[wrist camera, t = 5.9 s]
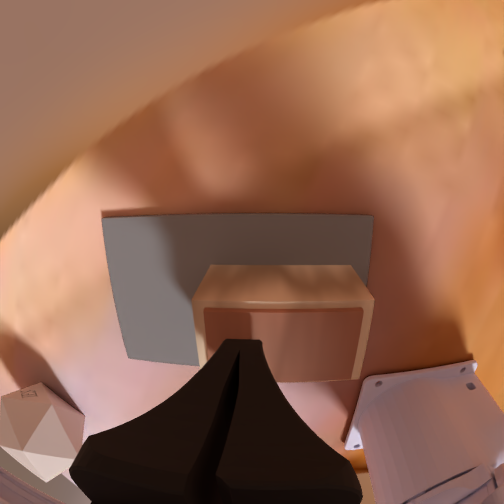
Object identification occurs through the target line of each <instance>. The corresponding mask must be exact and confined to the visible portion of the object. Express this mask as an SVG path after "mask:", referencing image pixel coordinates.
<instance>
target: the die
mask: <svg viewBox="0 0 504 504" xmlns="http://www.w3.org/2000/svg"><path fill="white" fill-rule="evenodd" d="M84 421H85V416H84V415H83V414H81V413H80V412H79V411H77V410H76V409H74V408H73V407H72V406H70V405H69V404H68V403H66V402H65V401H64V400H63V399H61V398H60V397H59V396H58V395H56V394H55V393H54V392H53V391H51V390H50V389H49V388H48V387H46V386H45V385H44V384H43V383H42V382H40V383H37V384H35V385H32V386H29V387H26V388H24V389H21V390H18V391H15V392H12V393H10V394H7V395H4V396H1V405H0V446H1V447H2V448H3V449H4V450H5V451H6V452H8V453H9V454H10V455H11V456H12V457H13V458H15V459H16V460H17V461H18V462H20V463H21V464H22V465H23V466H25V467H26V468H27V469H29V470H30V471H31V472H32V473H34V474H35V475H36V476H38V477H39V478H41V479H42V480H44V481H45V482H48V481H49V480H51V479H53V478H54V477H56V476H57V475H59V474H60V473H62V472H63V471H65V470H66V469H68V468H70V467H71V465H72V463H73V461H74V459H75V458H76V456H77V454H78V452H79V450H80V449H81V447H82V440H83V430H84Z"/></svg>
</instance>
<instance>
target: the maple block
mask: <svg viewBox="0 0 504 504" xmlns="http://www.w3.org/2000/svg"><path fill="white" fill-rule="evenodd" d="M191 301H192V310H193V319H194V327H195V335H196V343H197V350H198V358H199V365H200V369H201V368H202V367H203V366H204V365H205V364H206V362H207V361H208V360H209V359H210V358H211V357H212V355H213V354H214V353H215V352H216V350H217V349H218V348H219V346H220V345H221V344H222V342H223V341H224V340H225V339H260V340H261V341H262V342H263V351H264V355H265V358H266V361H267V363H268V366H269V368H270V370H271V373H272V375H273V377H274V379H275V381H276V382H321V381H340V380H354V379H359V377H360V373H361V369H362V364H363V360H364V356H365V351H366V346H367V341H368V336H369V331H370V326H371V320H372V314H373V309H374V302H375V299H374V298H373V296H372V295H371V293H370V292H369V290H368V289H367V288H366V286H365V285H364V283H363V282H362V280H361V279H360V277H359V276H358V275H357V273H356V272H355V270H354V269H353V267H352V266H351V265H210V267H209V269H208V271H207V273H206V274H205V276H204V278H203V280H202V282H201V283H200V285H199V287H198V289H197V291H196V292H195V294H194V296H193V298H192V300H191Z"/></svg>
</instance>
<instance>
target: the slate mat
mask: <svg viewBox="0 0 504 504" xmlns="http://www.w3.org/2000/svg"><path fill="white" fill-rule="evenodd" d="M373 221H374V217H373V216H372V215H350V214H300V213H223V214H173V215H143V216H119V217H104V218H102V227H103V235H104V242H105V250H106V256H107V263H108V269H109V275H110V280H111V286H112V291H113V296H114V301H115V306H116V310H117V315H118V319H119V324H120V328H121V332H122V336H123V340H124V344H125V348H126V352H127V355H128V358H130V359H137V360H144V361H152V362H161V363H170V364H180V365H191V366H200V365H199V358H198V350H197V343H196V335H195V327H194V319H193V310H192V301H191V300H192V298H193V296H194V294H195V292H196V291H197V289H198V287H199V285H200V283H201V282H202V280H203V278H204V276H205V274H206V273H207V271H208V269H209V267H210V265H351V266H352V267H353V269H354V270H355V272H356V273H357V275H358V276H359V277H360V279H361V280H362V282H363V283H364V285H365V286H366V288H367V281H368V273H369V264H370V255H371V245H372V234H373Z"/></svg>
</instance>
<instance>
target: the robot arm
mask: <svg viewBox="0 0 504 504" xmlns="http://www.w3.org/2000/svg"><path fill="white" fill-rule="evenodd" d="M476 368H477V362H476V361H475V360H470V361H465V362H461V363H456V364H450V365H445V366H440V367H434V368H428V369H421V370H415V371H408V372H400V373H392V374H383V375H373V376H369V377H367V378H366V379H365V380H364V381H363V384H362V388H361V392H360V395H359V399H358V402H357V406H356V409H355V412H354V416H353V419H352V422H351V425H350V428H349V431H348V434H347V437H346V440H345V443H344V448H345V449H346V450H354V449H362V448H363V449H364V453H365V458H366V462H367V466H368V470H369V475H370V479H371V483H372V487H373V492H374V497H375V502H376V504H504V414H503V412H502V411H501V409H500V408H499V406H498V405H497V403H496V402H495V401H494V399H493V398H492V396H491V395H490V394H489V392H488V391H487V389H486V388H485V387H484V385H483V384H482V383H481V381H480V380H479V379H478V377H477V376H476V375H475V373H474V372H475V370H476ZM378 381H380V382H378ZM376 382H378V383H376ZM69 473H70V476H71V478H72V479H73V481H74V482H75V484H76V485H77V486H78V487H79V488H80V489H81V490H82V491H83V492H84V494H85V495H86V496H87V497H88V498H89V499H90V500H91V501H92V502H91V504H360V503H361V500H362V497H363V495H362V489H361V486H360V483H359V480H358V478H357V475H356V473H355V471H354V469H353V467H352V465H351V463H350V461H349V460H347V459H346V458H344V457H343V456H342V455H340V454H339V453H337V452H336V451H335V450H334V449H332V448H331V447H330V446H329V445H327V444H326V443H325V442H324V441H323V440H322V439H321V438H319V437H318V436H317V435H316V434H315V433H314V432H313V431H312V430H311V429H310V427H309V426H308V425H307V424H306V423H305V422H304V421H303V420H302V419H301V418H300V417H299V415H298V414H297V413H296V412H295V410H294V409H293V408H292V406H291V405H290V404H289V402H288V401H287V399H286V398H285V396H284V395H283V393H282V392H281V390H280V388H279V386H278V385H277V383H276V381H275V379H274V377H273V375H272V373H271V370H270V368H269V366H268V363H267V361H266V358H265V355H264V351H263V342H262V341H261V340H260V339H225V340H224V341H223V342H222V344H221V345H220V346H219V348H218V349H217V350H216V352H215V353H214V354H213V355H212V357H211V358H210V359H209V360H208V361H207V362H206V364H205V365H204V366H203V367H202V368H201V369H200V370H199V371H198V372H197V373H196V374H195V375H194V376H193V377H192V378H191V379H190V380H189V381H188V382H187V383H186V384H185V385H184V386H183V387H182V388H181V389H179V390H178V391H177V392H176V393H174V394H173V395H172V396H171V397H169V398H168V399H167V400H165V401H164V402H162V403H161V404H159V405H158V406H156V407H155V408H153V409H151V410H150V411H148V412H146V413H145V414H143V415H141V416H139V417H137V418H135V419H133V420H131V421H129V422H126V423H124V424H122V425H120V426H117V427H115V428H112V429H109V430H106V431H103V432H100V433H97V434H94V435H90V436H89V437H88V438H87V439H86V441H85V442H84V444H83V445H82V447H81V449H80V450H79V452H78V454H77V456H76V458H75V459H74V461H73V463H72V465H71V467H70V469H69ZM0 504H65V503H63V502H61V501H59V500H57V499H55V498H53V497H51V496H49V495H47V494H45V493H43V492H41V491H40V490H37V489H36V488H34V487H32V486H30V485H29V484H27V483H25V482H24V481H22V480H20V479H19V478H17V477H16V476H14V475H12V474H11V473H9V472H8V471H6V470H5V469H3V468H1V467H0Z"/></svg>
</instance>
